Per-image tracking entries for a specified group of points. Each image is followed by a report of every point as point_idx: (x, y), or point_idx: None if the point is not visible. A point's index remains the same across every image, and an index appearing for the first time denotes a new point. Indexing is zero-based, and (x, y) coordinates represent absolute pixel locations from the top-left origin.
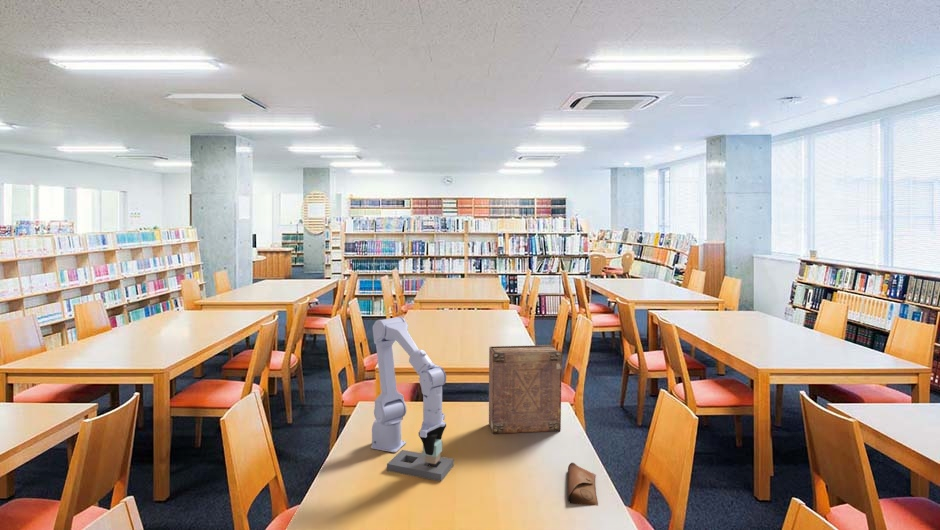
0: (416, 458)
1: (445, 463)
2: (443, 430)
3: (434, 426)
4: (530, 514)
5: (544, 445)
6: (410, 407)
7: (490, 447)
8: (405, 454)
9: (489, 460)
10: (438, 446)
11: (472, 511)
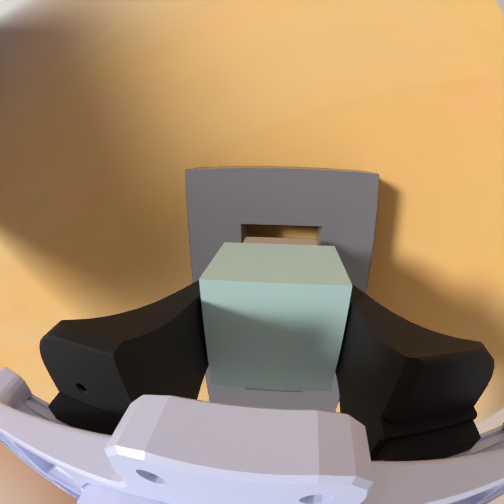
0: None
1: (253, 193)
2: (120, 321)
3: (468, 496)
4: None
5: (16, 5)
6: None
7: (30, 110)
8: (240, 392)
9: (104, 52)
10: (295, 271)
11: (482, 27)
